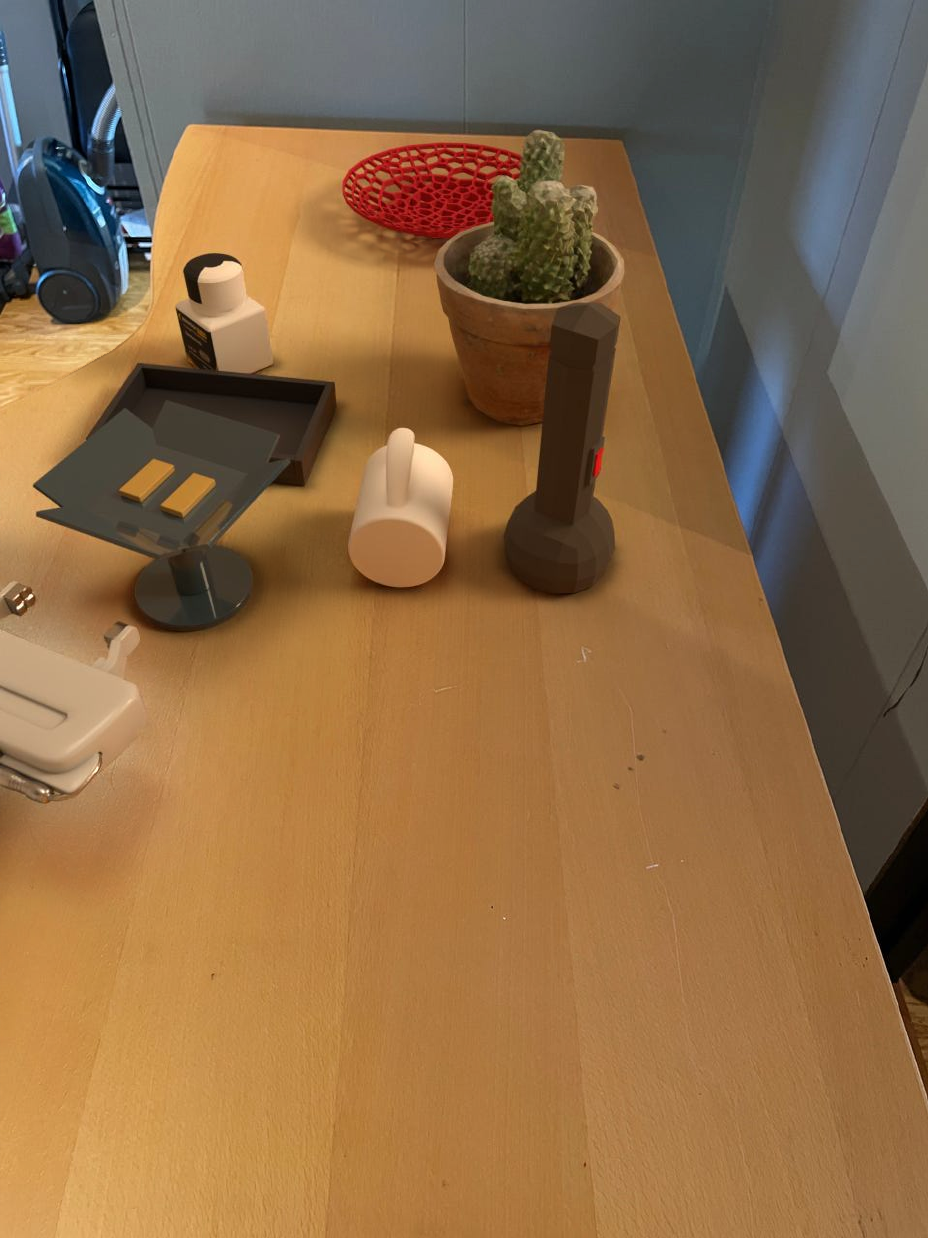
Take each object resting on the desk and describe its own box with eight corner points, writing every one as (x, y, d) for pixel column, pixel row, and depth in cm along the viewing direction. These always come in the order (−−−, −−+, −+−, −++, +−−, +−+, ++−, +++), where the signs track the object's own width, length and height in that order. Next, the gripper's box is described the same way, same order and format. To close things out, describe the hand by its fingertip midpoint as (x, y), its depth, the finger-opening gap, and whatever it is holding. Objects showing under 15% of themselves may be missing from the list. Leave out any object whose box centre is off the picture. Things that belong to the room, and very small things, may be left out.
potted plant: (631, 429, 99) (675, 189, 80) (464, 460, 95) (470, 215, 76) (566, 340, 110) (591, 113, 92) (415, 364, 106) (409, 131, 88)
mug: (351, 585, 82) (340, 478, 74) (366, 509, 89) (358, 402, 80) (444, 591, 82) (444, 484, 73) (453, 514, 89) (454, 407, 80)
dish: (221, 685, 75) (188, 567, 65) (60, 621, 79) (7, 503, 69) (322, 558, 85) (306, 440, 75) (174, 508, 89) (142, 391, 79)
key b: (183, 518, 71) (181, 512, 71) (161, 511, 72) (159, 505, 71) (216, 485, 74) (214, 479, 74) (195, 478, 75) (193, 472, 74)
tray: (93, 463, 93) (85, 438, 91) (144, 387, 102) (137, 362, 100) (304, 486, 91) (301, 460, 89) (337, 406, 101) (334, 381, 98)
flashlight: (482, 569, 84) (581, 612, 81) (493, 314, 66) (622, 356, 62) (535, 508, 90) (629, 546, 86) (558, 258, 71) (679, 294, 68)
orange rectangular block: (141, 503, 73) (139, 497, 72) (120, 496, 73) (118, 489, 73) (175, 470, 75) (173, 464, 75) (154, 464, 76) (153, 458, 75)
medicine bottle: (186, 361, 106) (163, 259, 97) (240, 339, 109) (222, 239, 100) (220, 388, 102) (199, 285, 94) (275, 364, 106) (259, 263, 97)
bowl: (490, 292, 118) (492, 254, 114) (301, 235, 127) (297, 198, 124) (589, 206, 135) (593, 170, 131) (416, 162, 145) (415, 127, 141)
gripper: (45, 785, 54) (187, 624, 63) (-209, 670, 60) (-46, 537, 68) (77, 840, 59) (205, 683, 67) (-162, 728, 64) (-15, 597, 73)
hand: (77, 609), depth 68 cm, fingers open, 8 cm apart
